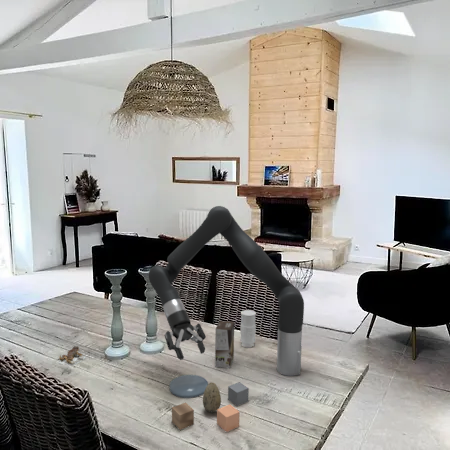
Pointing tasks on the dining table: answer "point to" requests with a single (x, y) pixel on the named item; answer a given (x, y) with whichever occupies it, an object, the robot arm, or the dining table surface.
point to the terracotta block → (228, 418)
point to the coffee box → (224, 344)
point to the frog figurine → (71, 357)
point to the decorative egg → (211, 398)
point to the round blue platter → (188, 386)
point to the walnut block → (182, 415)
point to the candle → (248, 328)
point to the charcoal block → (238, 393)
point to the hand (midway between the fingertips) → (192, 355)
